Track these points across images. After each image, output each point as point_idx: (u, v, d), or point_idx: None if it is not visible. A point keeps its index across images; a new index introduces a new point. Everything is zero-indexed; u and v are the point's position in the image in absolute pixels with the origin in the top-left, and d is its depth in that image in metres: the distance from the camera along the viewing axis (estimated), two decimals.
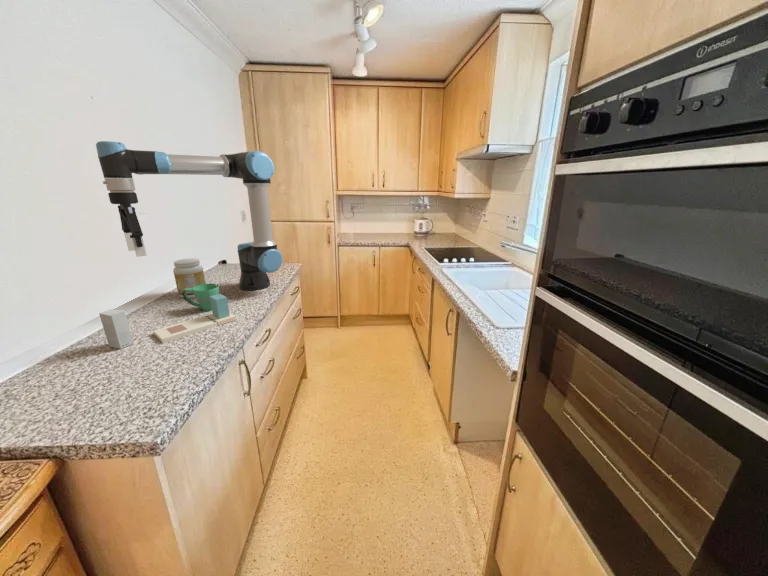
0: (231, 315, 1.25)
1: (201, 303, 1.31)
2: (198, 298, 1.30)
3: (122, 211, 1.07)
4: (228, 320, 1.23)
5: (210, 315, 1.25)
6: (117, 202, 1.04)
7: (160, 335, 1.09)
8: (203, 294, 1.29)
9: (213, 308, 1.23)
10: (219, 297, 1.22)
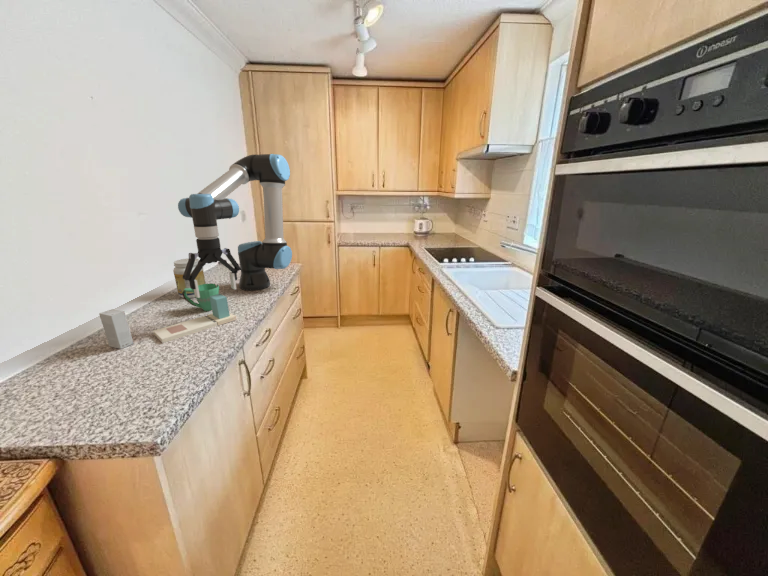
0: (231, 315, 1.25)
1: (201, 303, 1.31)
2: (198, 298, 1.30)
3: None
4: (228, 320, 1.23)
5: (210, 315, 1.25)
6: None
7: (160, 335, 1.09)
8: (203, 294, 1.29)
9: (213, 308, 1.23)
10: (219, 297, 1.22)
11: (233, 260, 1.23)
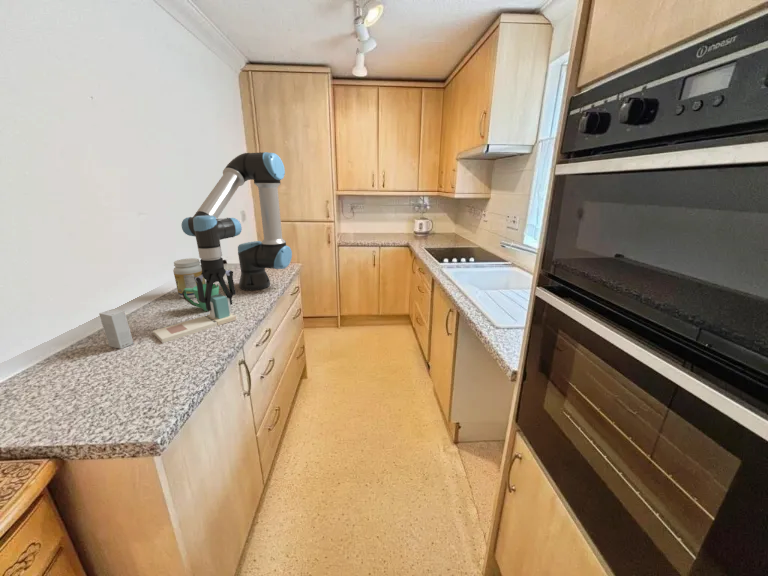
0: (231, 315, 1.25)
1: (201, 303, 1.31)
2: (198, 298, 1.30)
3: None
4: (228, 320, 1.23)
5: None
6: None
7: (160, 335, 1.09)
8: None
9: None
10: (219, 297, 1.22)
11: (232, 283, 1.25)
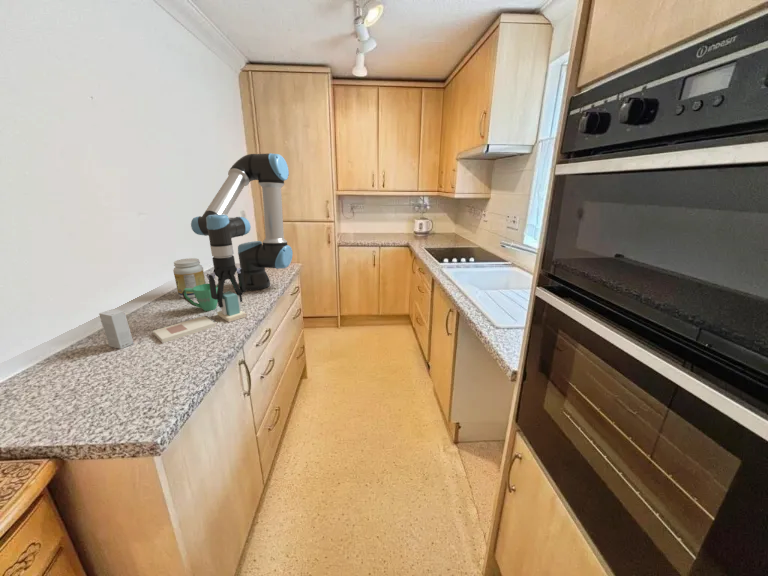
0: (241, 312, 1.28)
1: (201, 303, 1.31)
2: (198, 298, 1.30)
3: None
4: (238, 317, 1.26)
5: (220, 312, 1.28)
6: None
7: (160, 335, 1.09)
8: (203, 294, 1.29)
9: None
10: (229, 294, 1.25)
11: (242, 281, 1.28)
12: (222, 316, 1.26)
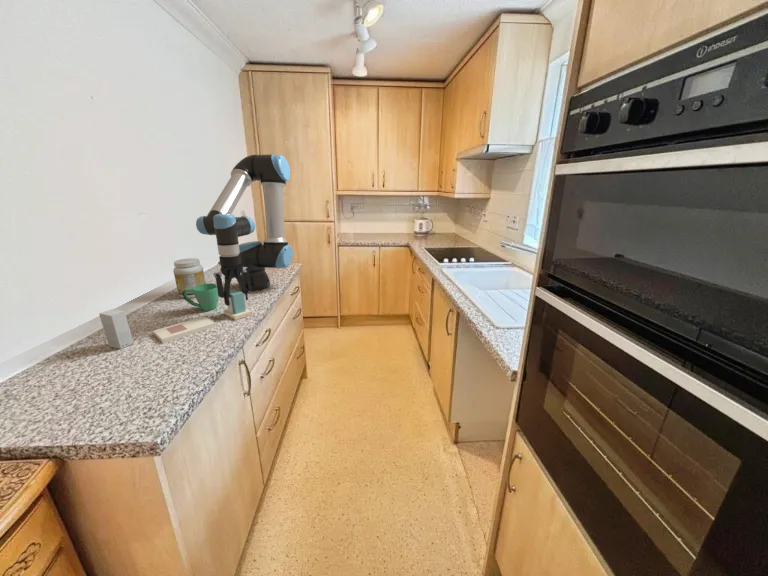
0: (247, 310, 1.30)
1: (201, 303, 1.31)
2: (198, 298, 1.30)
3: None
4: (244, 315, 1.27)
5: (227, 310, 1.30)
6: None
7: (160, 335, 1.09)
8: (203, 294, 1.29)
9: None
10: (236, 293, 1.27)
11: (248, 279, 1.29)
12: (228, 314, 1.28)
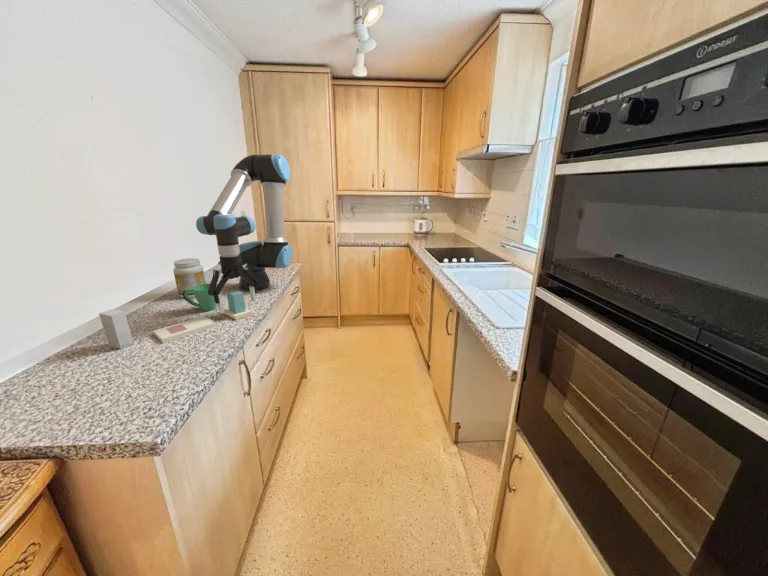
0: (247, 310, 1.30)
1: (201, 303, 1.31)
2: (198, 298, 1.30)
3: None
4: (244, 315, 1.28)
5: (227, 310, 1.30)
6: None
7: (160, 335, 1.09)
8: (203, 294, 1.29)
9: (230, 303, 1.28)
10: (236, 293, 1.27)
11: (253, 275, 1.31)
12: (228, 314, 1.28)
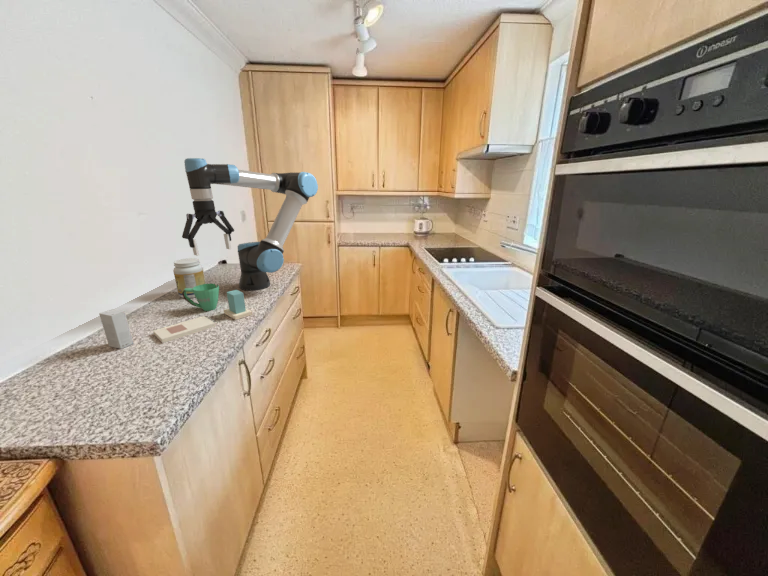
0: (247, 310, 1.30)
1: (201, 303, 1.31)
2: (198, 298, 1.30)
3: None
4: (244, 315, 1.28)
5: (227, 310, 1.30)
6: None
7: (160, 335, 1.09)
8: (203, 294, 1.29)
9: (230, 303, 1.28)
10: (236, 293, 1.27)
11: (227, 222, 1.34)
12: (228, 314, 1.28)
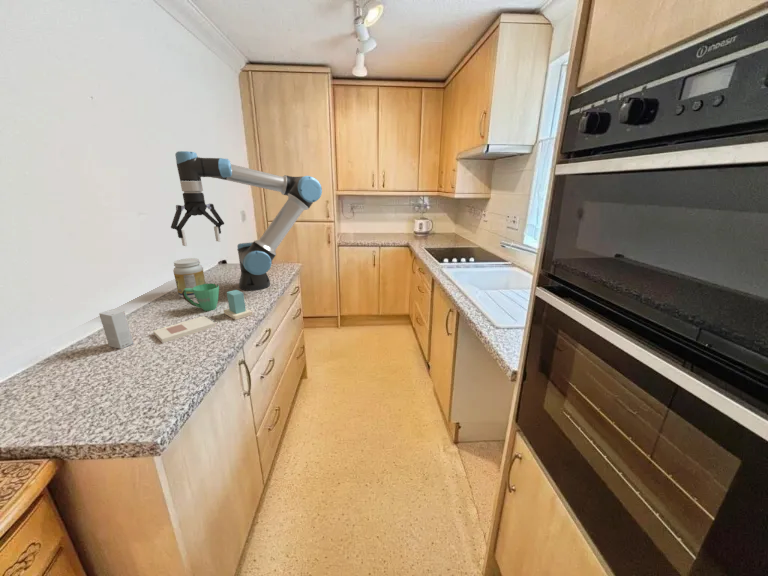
0: (247, 310, 1.30)
1: (201, 303, 1.31)
2: (198, 298, 1.30)
3: None
4: (244, 315, 1.28)
5: (227, 310, 1.30)
6: None
7: (160, 335, 1.09)
8: (203, 294, 1.29)
9: (230, 303, 1.28)
10: (236, 293, 1.27)
11: (216, 215, 1.37)
12: (228, 314, 1.28)
